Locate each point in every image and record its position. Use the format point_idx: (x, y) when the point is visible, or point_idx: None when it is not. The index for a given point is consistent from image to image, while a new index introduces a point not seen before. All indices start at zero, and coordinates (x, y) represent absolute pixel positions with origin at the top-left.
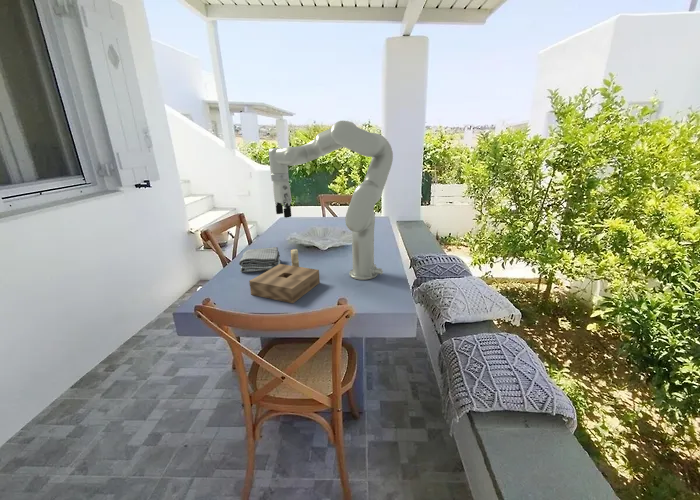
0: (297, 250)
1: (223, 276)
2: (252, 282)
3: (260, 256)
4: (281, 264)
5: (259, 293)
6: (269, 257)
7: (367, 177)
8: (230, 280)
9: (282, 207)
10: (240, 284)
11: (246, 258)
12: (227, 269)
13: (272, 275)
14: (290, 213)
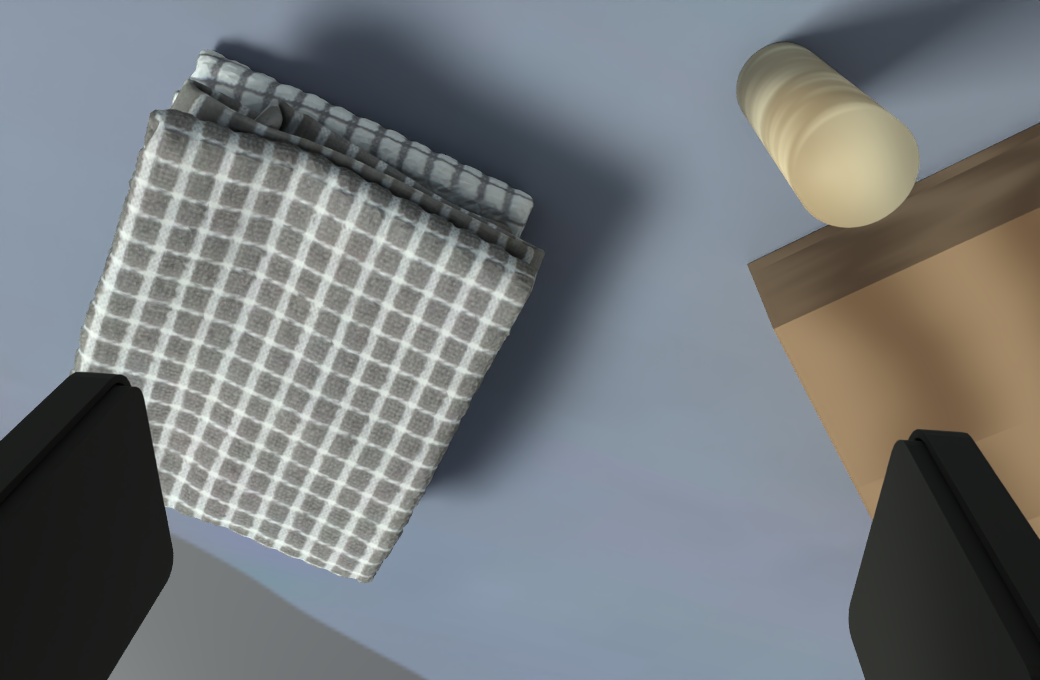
0: (909, 131)
1: (383, 623)
2: None
3: (371, 407)
4: (804, 323)
5: None
6: (450, 329)
7: None
8: (510, 611)
9: (10, 534)
10: (652, 585)
11: (383, 554)
12: (227, 559)
13: (1029, 519)
14: (1001, 527)
